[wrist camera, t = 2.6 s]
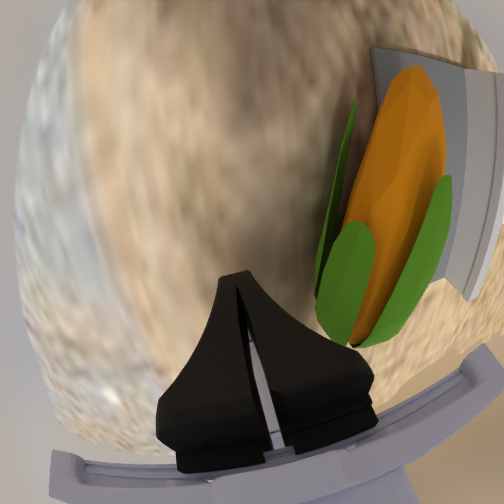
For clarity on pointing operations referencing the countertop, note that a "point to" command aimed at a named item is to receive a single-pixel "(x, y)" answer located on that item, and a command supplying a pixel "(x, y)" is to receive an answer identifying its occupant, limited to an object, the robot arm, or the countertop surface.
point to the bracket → (463, 160)
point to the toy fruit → (386, 218)
